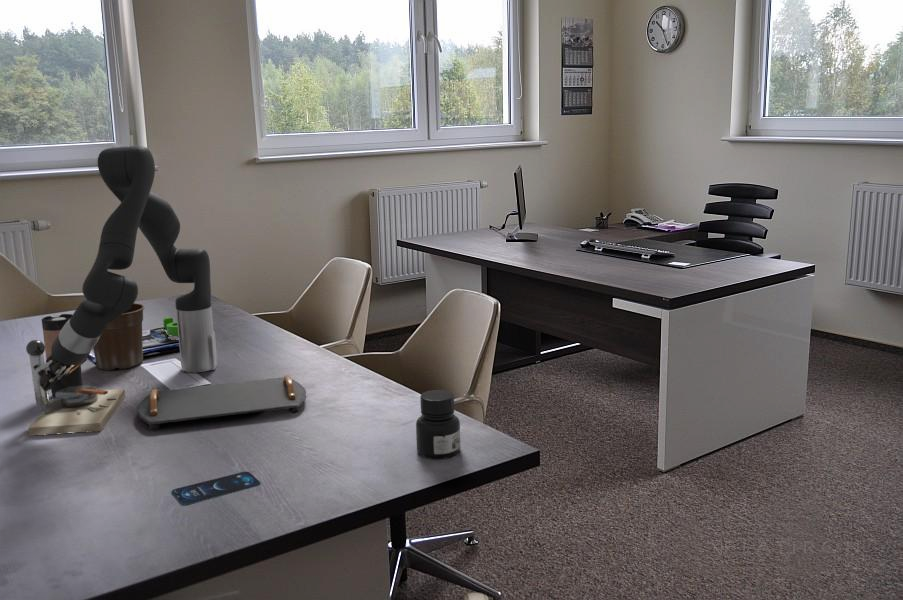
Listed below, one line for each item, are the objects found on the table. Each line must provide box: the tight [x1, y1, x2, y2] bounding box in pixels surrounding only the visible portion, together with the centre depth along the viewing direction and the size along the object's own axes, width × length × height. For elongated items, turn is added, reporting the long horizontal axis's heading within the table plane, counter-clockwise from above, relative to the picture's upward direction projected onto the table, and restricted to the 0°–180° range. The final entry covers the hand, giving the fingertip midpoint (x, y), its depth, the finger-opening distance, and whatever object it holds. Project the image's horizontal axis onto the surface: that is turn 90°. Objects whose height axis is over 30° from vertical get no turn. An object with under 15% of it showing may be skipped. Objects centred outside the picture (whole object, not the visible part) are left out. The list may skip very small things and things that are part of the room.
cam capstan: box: [25, 339, 108, 413], centre depth 195 cm, size 13×15×17 cm
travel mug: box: [41, 313, 83, 399], centre depth 210 cm, size 8×8×20 cm
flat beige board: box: [27, 388, 126, 437], centre depth 197 cm, size 15×24×2 cm, turn 9°
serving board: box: [136, 374, 307, 431], centre depth 200 cm, size 39×23×6 cm, turn 107°
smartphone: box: [171, 471, 262, 506], centre depth 157 cm, size 8×1×15 cm
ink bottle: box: [415, 389, 461, 459], centre depth 170 cm, size 10×9×12 cm
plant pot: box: [92, 302, 145, 371], centre depth 236 cm, size 16×16×16 cm
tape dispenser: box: [162, 315, 178, 336], centre depth 268 cm, size 15×7×5 cm, turn 26°
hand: (44, 387), depth 190 cm, fingers closed
